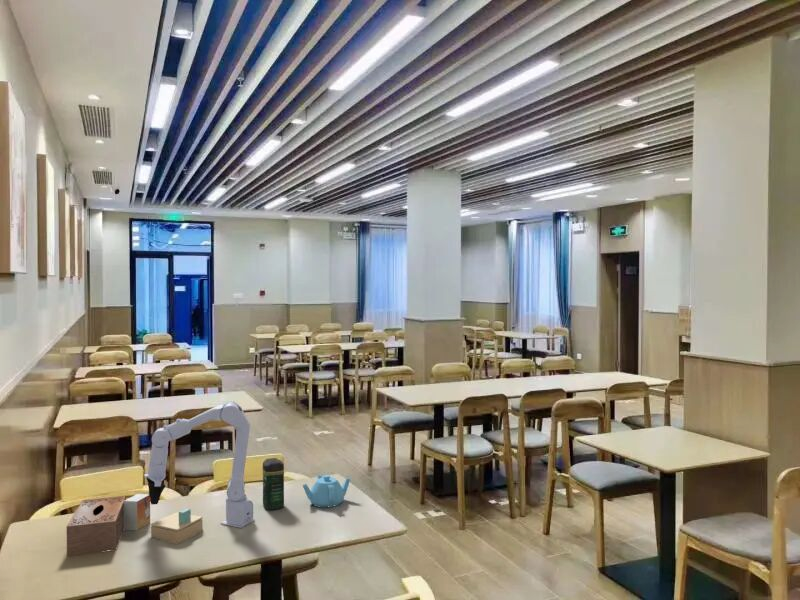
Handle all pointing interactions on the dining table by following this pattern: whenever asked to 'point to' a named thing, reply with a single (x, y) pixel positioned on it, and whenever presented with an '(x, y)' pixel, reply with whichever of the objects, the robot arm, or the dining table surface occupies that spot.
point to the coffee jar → (273, 483)
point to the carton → (176, 532)
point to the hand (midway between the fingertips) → (153, 500)
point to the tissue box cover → (96, 526)
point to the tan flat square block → (177, 520)
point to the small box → (136, 512)
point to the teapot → (326, 491)
